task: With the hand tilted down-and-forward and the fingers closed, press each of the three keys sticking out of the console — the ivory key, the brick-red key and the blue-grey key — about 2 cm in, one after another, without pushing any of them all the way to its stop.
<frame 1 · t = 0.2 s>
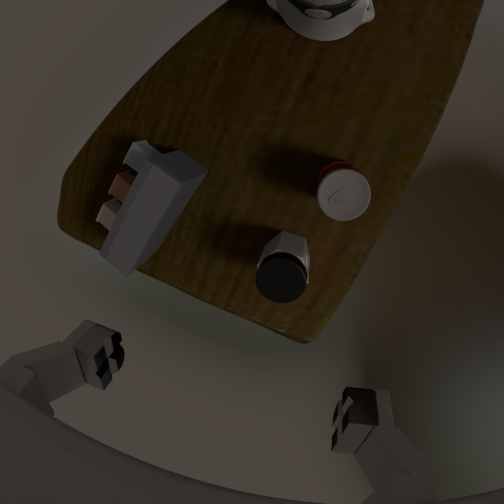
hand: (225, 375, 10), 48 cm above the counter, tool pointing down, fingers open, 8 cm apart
ivory key: (118, 220, 58), point 6 cm above the counter, slide at 0.0 cm
jar: (287, 251, 60), on the counter
blue-grey key: (148, 162, 52), point 5 cm above the counter, slide at 0.0 cm
brick key: (132, 192, 55), point 6 cm above the counter, slide at 0.0 cm
console: (154, 192, 60), on the counter
canned food: (339, 181, 53), on the counter
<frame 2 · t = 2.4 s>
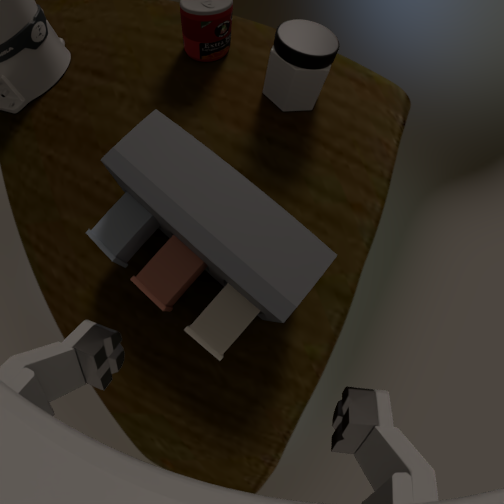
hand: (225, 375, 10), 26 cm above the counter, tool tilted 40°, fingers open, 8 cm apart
ivory key: (227, 315, 31), point 5 cm above the counter, slide at 0.0 cm
jar: (290, 92, 43), on the counter
blue-grey key: (129, 225, 31), point 5 cm above the counter, slide at 0.0 cm
brick key: (175, 268, 31), point 5 cm above the counter, slide at 0.0 cm
console: (195, 261, 37), on the counter
canned food: (207, 49, 44), on the counter
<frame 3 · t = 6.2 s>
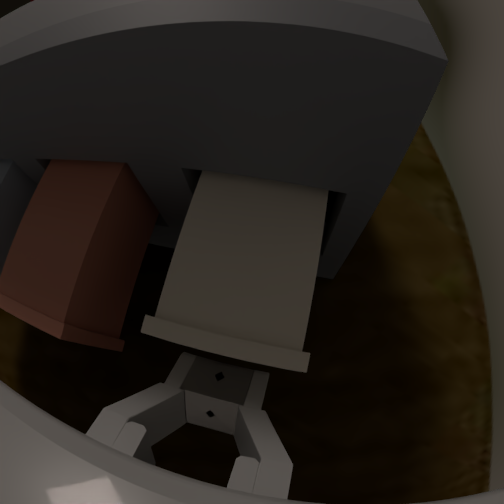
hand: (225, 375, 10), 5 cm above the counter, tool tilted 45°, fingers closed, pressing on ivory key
ivory key: (256, 248, 11), point 5 cm above the counter, slide at 1.1 cm, touching gripper
brick key: (82, 241, 11), point 5 cm above the counter, slide at 0.0 cm
console: (146, 242, 17), on the counter
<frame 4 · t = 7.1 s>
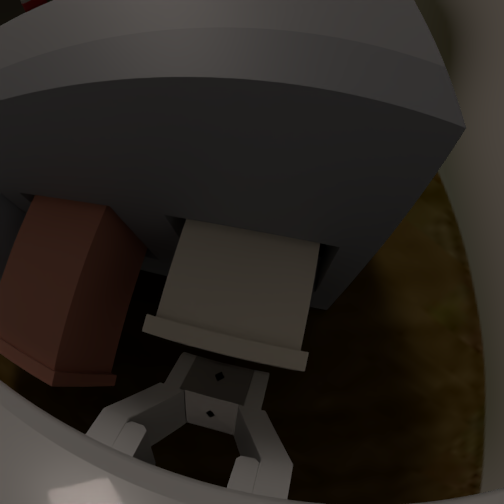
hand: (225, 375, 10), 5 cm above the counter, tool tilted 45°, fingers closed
ivory key: (256, 249, 11), point 6 cm above the counter, slide at 2.7 cm
brick key: (70, 278, 11), point 6 cm above the counter, slide at 0.0 cm
console: (137, 269, 17), on the counter
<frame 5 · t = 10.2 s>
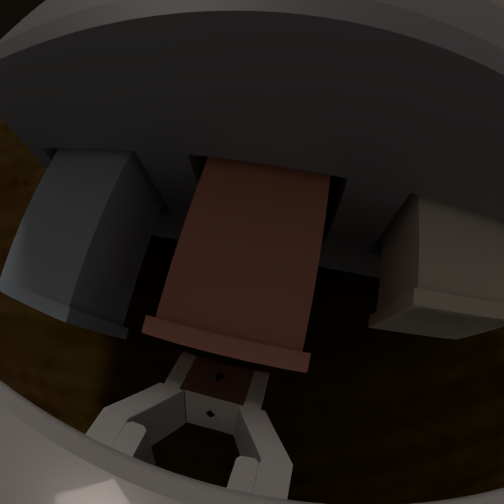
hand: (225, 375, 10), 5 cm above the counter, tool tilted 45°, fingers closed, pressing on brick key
ivory key: (442, 231, 11), point 6 cm above the counter, slide at 2.7 cm
blue-grey key: (87, 229, 12), point 6 cm above the counter, slide at 0.0 cm
brick key: (256, 249, 11), point 6 cm above the counter, slide at 0.5 cm, touching gripper
console: (269, 257, 17), on the counter
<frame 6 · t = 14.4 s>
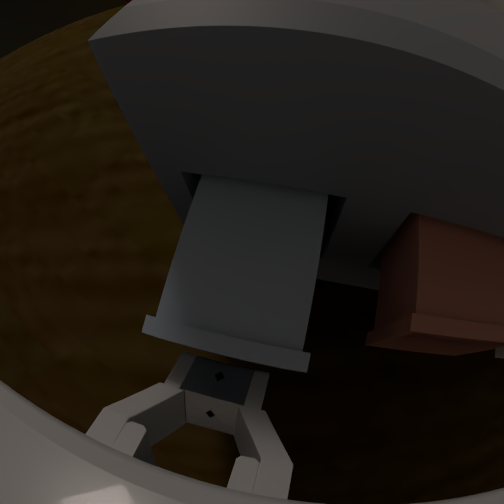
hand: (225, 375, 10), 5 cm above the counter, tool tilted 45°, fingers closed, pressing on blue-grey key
blue-grey key: (256, 249, 11), point 6 cm above the counter, slide at 1.2 cm, touching gripper
brick key: (442, 248, 10), point 5 cm above the counter, slide at 2.6 cm
console: (394, 293, 15), on the counter
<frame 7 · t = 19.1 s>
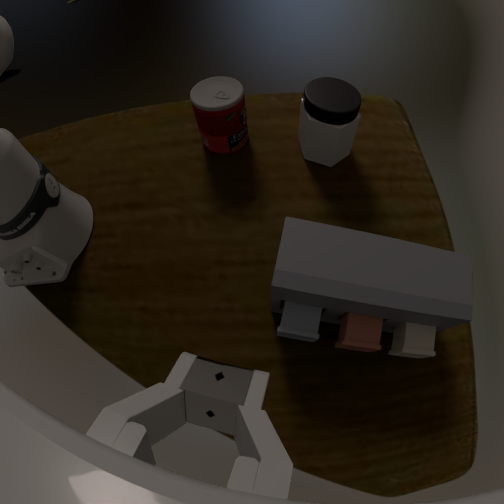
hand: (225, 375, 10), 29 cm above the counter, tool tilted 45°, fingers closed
ivory key: (415, 324, 33), point 5 cm above the counter, slide at 2.7 cm
jar: (323, 147, 49), on the counter
blue-grey key: (302, 304, 35), point 5 cm above the counter, slide at 2.7 cm
brick key: (361, 316, 34), point 5 cm above the counter, slide at 2.6 cm
console: (349, 326, 39), on the counter
canned food: (225, 139, 51), on the counter
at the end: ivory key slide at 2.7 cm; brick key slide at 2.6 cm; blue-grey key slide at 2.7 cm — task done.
